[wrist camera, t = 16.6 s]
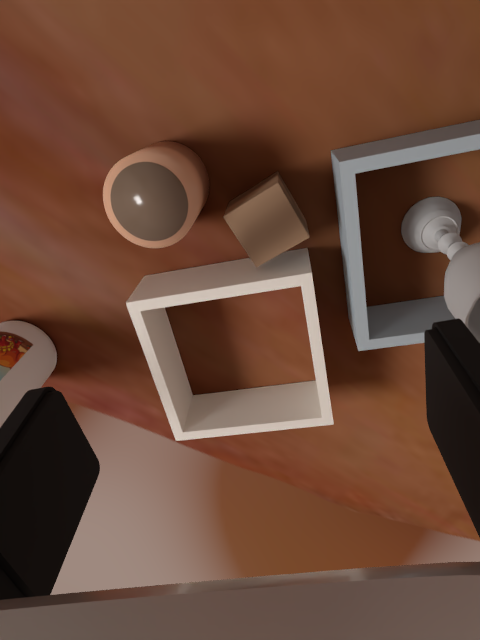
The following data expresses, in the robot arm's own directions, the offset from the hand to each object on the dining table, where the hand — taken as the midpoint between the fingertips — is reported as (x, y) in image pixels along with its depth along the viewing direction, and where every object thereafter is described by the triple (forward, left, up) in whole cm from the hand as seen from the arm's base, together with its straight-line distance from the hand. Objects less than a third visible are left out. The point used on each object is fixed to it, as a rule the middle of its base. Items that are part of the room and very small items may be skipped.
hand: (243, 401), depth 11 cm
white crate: (+15, -6, -30) cm, 34 cm away
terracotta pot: (-1, -9, -30) cm, 31 cm away
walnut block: (+3, -1, -30) cm, 31 cm away
